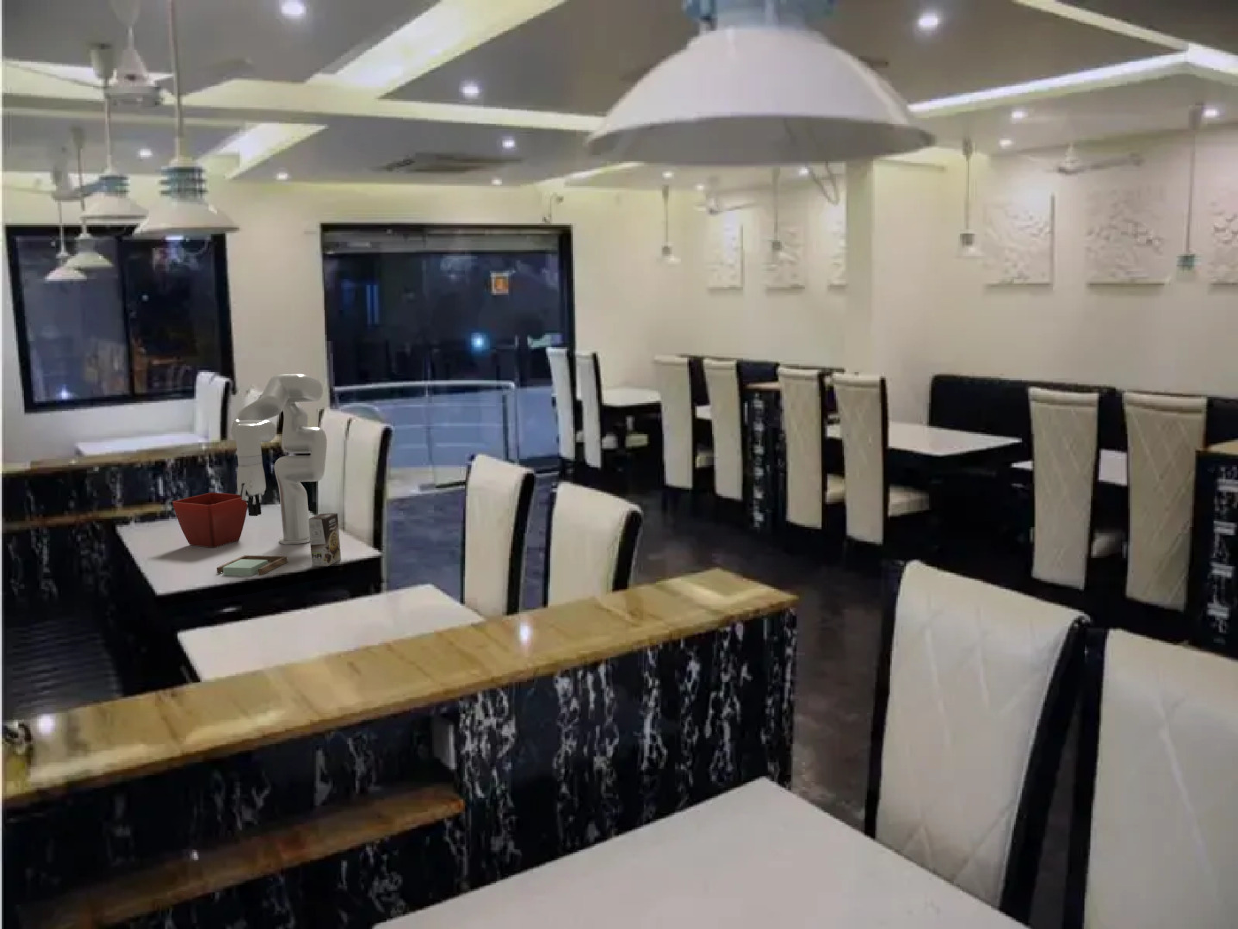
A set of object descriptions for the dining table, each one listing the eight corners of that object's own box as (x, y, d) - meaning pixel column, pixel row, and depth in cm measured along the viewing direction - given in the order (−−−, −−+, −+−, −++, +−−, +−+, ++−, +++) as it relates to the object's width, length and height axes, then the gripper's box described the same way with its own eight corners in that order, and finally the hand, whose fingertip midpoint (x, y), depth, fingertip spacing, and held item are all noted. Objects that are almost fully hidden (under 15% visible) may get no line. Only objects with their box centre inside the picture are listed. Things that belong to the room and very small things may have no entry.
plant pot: (253, 539, 375) (249, 494, 372) (214, 551, 358) (209, 505, 355) (216, 535, 383) (211, 492, 380) (175, 547, 366) (170, 501, 363)
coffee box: (329, 566, 332) (325, 518, 330) (311, 565, 334) (307, 518, 331) (341, 559, 341) (338, 512, 338) (324, 558, 342) (320, 512, 340)
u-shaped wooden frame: (245, 560, 343) (244, 555, 342) (287, 562, 339) (287, 556, 339) (217, 573, 327) (216, 567, 327) (261, 575, 324) (260, 569, 324)
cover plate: (241, 568, 335) (240, 559, 335) (268, 568, 333) (267, 560, 333) (223, 576, 326) (222, 567, 325) (251, 577, 324) (250, 568, 323)
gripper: (253, 457, 340) (257, 510, 343) (226, 464, 325) (231, 520, 328) (273, 457, 338) (277, 510, 341) (247, 464, 323) (252, 520, 326)
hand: (255, 514), depth 334 cm, fingers closed
